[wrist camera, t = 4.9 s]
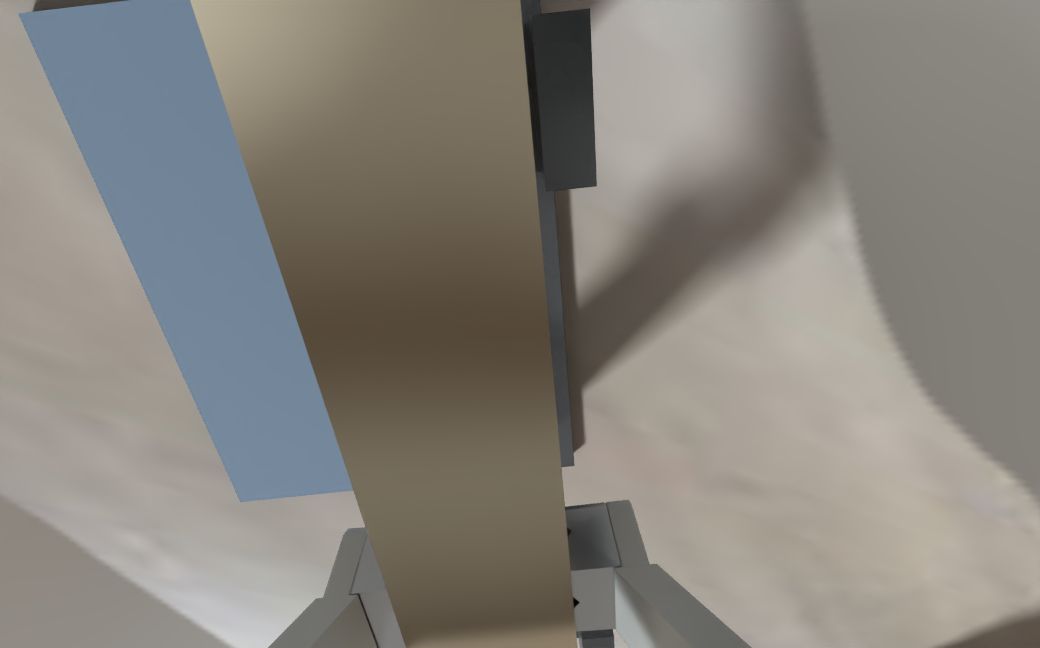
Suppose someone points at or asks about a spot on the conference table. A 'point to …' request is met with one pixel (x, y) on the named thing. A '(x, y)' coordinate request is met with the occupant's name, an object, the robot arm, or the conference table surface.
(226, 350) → the mat
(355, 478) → the rail
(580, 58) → the hook rack
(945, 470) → the conference table surface
